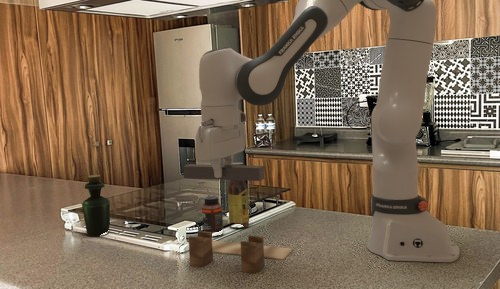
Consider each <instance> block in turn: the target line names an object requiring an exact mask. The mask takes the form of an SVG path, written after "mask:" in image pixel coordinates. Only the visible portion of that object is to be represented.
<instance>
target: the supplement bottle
mask: <svg viewBox="0 0 500 289" xmlns="http://www.w3.org/2000/svg"><path fill="white" fill-rule="evenodd" d="M222 206H223V205H222V204H221V203H219V197H218V196H217V195H210V196H206V197H204V204H202V206H201V218H202V219H203V220H204V225H203V224H202V231H203V230H204V231H205V232H219V231H221V230H222V229H223V230H224V221H223V219H224V218H223V207H222ZM203 220H202V221H203Z"/></svg>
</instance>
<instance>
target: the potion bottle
mask: <svg viewBox="0 0 500 289" xmlns="http://www.w3.org/2000/svg"><path fill="white" fill-rule="evenodd" d="M87 181H88V182H87V183H85V185H84V189H86V190H88V193H89V197H88V198H86V199H85V200H84V201H83V202H82V205H81V206H82V211H83V212H82V213H83V218H84V224H85V230H86V234H87V236H89V237H91V238H93V237H94V238H96V237H101V236H100V235H101V234H103V233H105V232H107V231H108V230H109V231H110V220H111V219H110V214H111V213H110V212H111V211H110V208H111V207H110V206H111V203H110V202H111V201H110V200H109V199H108V198H106V197H105V196H102V195H101V192H102V189H103V188H105V187H106V186H105V183H104V182H103V181H101V175H100V174H91V175H87Z"/></svg>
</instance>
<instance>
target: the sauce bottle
mask: <svg viewBox="0 0 500 289" xmlns="http://www.w3.org/2000/svg"><path fill="white" fill-rule="evenodd" d="M244 164H245V163H244V162H233V163H232V165H244ZM247 184H248V183H247V182H246V181H245V180H229V181H228V185H227V188H228V189H227V191H228V192H227V193H228V194H227V201H228V204H227V205H228V221H229V224H230V223H235V224H241V225H243V226H244V227H245V228H249V225H250V224H249V223H250V211H249V210H250V206H249V204H250V202H249V186H248V185H247Z"/></svg>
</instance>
